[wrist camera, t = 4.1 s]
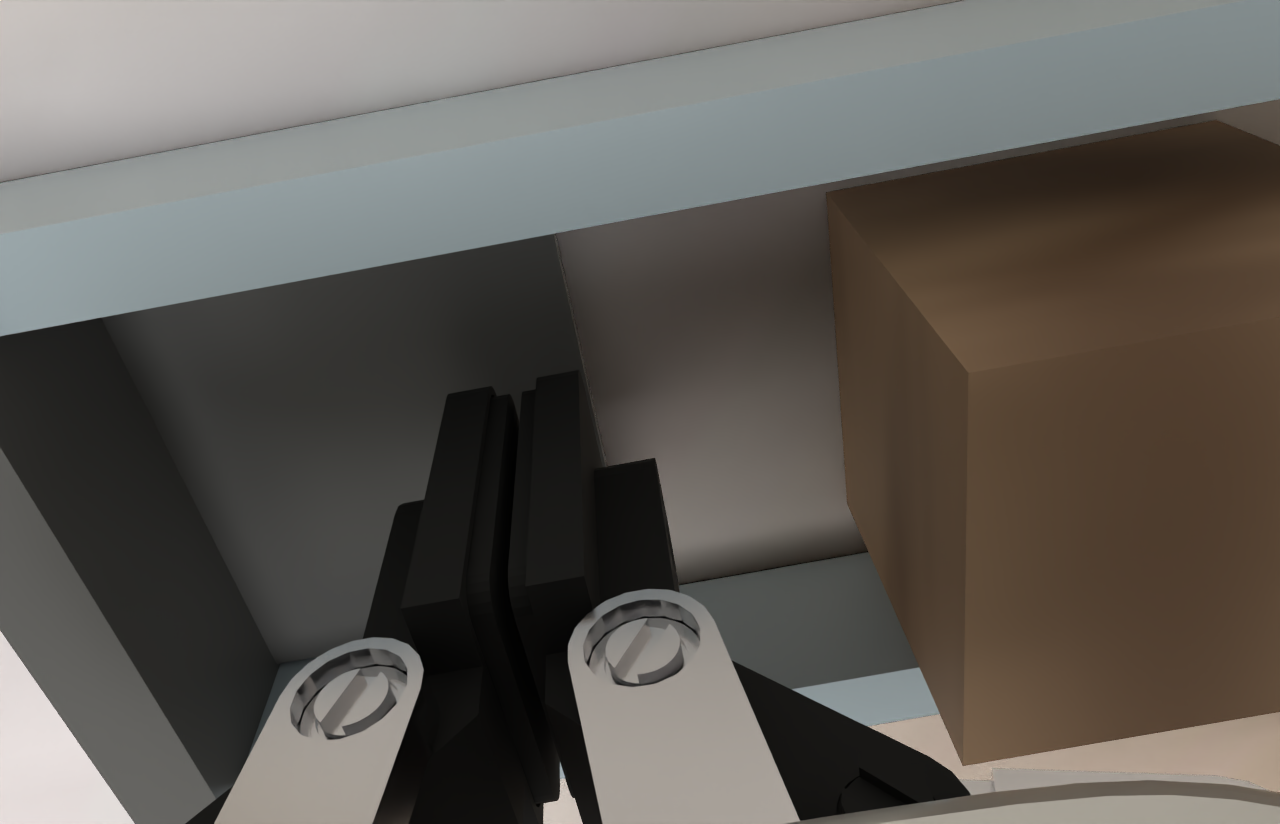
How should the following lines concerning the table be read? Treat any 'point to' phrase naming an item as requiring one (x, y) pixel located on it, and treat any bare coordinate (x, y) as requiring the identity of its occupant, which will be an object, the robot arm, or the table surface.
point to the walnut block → (1071, 432)
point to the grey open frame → (448, 341)
